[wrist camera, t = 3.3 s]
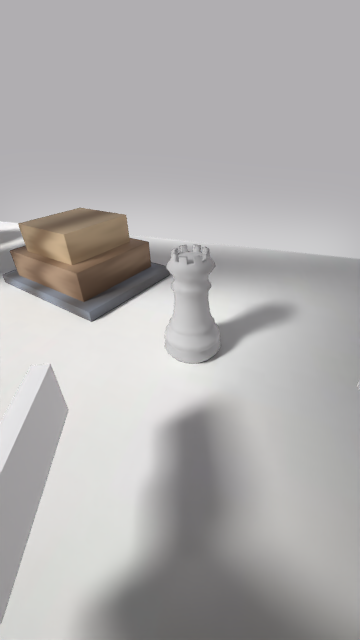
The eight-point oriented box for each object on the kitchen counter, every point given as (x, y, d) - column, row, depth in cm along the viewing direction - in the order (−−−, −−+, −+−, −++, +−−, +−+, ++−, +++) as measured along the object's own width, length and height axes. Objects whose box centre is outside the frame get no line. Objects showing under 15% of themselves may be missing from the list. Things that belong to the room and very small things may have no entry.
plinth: (5, 282, 35) (-19, 223, 31) (85, 251, 43) (73, 201, 39) (91, 321, 27) (72, 248, 23) (169, 274, 35) (165, 214, 31)
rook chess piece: (184, 325, 26) (181, 236, 21) (230, 341, 23) (237, 246, 19) (153, 353, 23) (141, 256, 18) (201, 374, 20) (201, 270, 16)
